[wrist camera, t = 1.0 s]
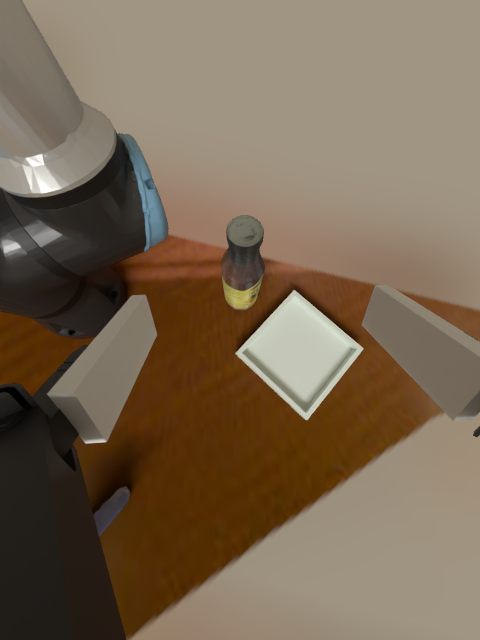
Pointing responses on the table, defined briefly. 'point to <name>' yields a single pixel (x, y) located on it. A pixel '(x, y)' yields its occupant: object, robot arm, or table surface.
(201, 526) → the table surface
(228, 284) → the sauce bottle
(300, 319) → the tray
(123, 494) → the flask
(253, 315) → the table surface
